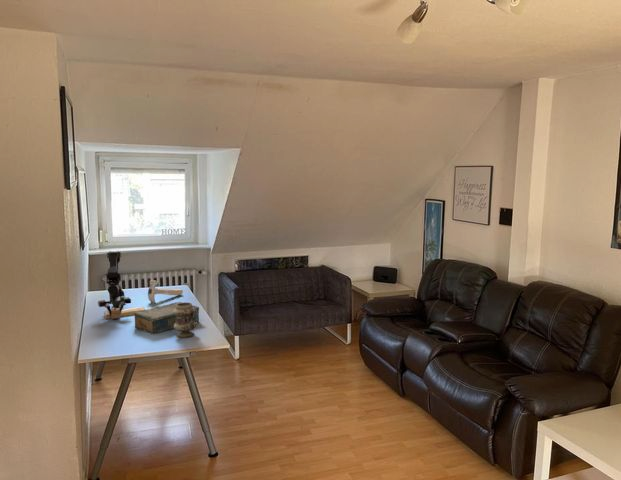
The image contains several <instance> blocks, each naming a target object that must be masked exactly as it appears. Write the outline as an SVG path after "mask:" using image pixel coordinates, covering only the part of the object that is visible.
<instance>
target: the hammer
mask: <svg viewBox="0 0 621 480" xmlns="http://www.w3.org/2000/svg"><path fill="white" fill-rule="evenodd" d="M157 284H158V280H155V279H153V280H152V279H150V280H149V287H148V290H147V297H148V300H149V302H151V303H153V304H157V302H156V299H155V296H156V295H166V296H180V297H181V296H183V289H181V288H178V289H177V288H176V289H175V288H174V289H172V288H171V289H170V288H156V286H157Z"/></svg>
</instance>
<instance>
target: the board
mask: <svg viewBox="0 0 621 480" xmlns="http://www.w3.org/2000/svg"><path fill="white" fill-rule="evenodd" d="M142 310H146V308H144V307H143V306H140V307H133V308H126V309H124V308H123V309H122V311H121V314H120V318H121V317H126V316H135V315H134V313H136V312H138V311H142ZM103 314H104V315H103V316H104V318H105V319H112V318H111V316H110V314H109V311H105V312H103Z"/></svg>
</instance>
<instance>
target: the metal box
mask: <svg viewBox="0 0 621 480" xmlns="http://www.w3.org/2000/svg"><path fill="white" fill-rule="evenodd" d="M178 303H184V302H182V301H178V302H177V301H176V302H173V303H168V304H165V305H160V306H155V307H153V308H149V309H145V310H142V311H138V312H136V313H134V315H133V316H134V329H137V330H140V331H144V332H146V333H148V334H150V335H157V334H161V333H165V332H167V331H168V332H169V331H172V330H176V329H175V328H174V324H175V323H176V315H175V314H174V313H173V311H174V309H175V308H176V304H178ZM192 307H194V308H195V312H194V313H193V320H194V322H195V323H196V322H197V323H199V322H200V315H199V312H200V307H199V306H195V305H193V304H192ZM197 323H196V324H197Z"/></svg>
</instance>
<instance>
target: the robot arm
mask: <svg viewBox="0 0 621 480" xmlns="http://www.w3.org/2000/svg"><path fill="white" fill-rule="evenodd" d="M106 257H107V259H108V262H109V268H108V269H107V273H106V276H105V277H106V278H105V280H106V281H105V282H106V284H108V287H107V292H108V294H109V295H108V296H109V300H107V301H106V299H105V300H104V299H101V300H98V302H97V305H98V307H100V308H106V309H107V312H109V314H110V316H111V310H110V309H112V308H119V309H120V314H121V311H122V310H123V309H124V306H126V304H131V303H132V299H131V298H130V297H129V296H128V297H127V296H126V297H125V292H124V290H123V287H122V285H121V284H120V283H121V281H122V275H121V272H119V263H120V261H121V258H122V252H121V251H119V250H109V251H108V252H106ZM110 305H112V306H110Z"/></svg>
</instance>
